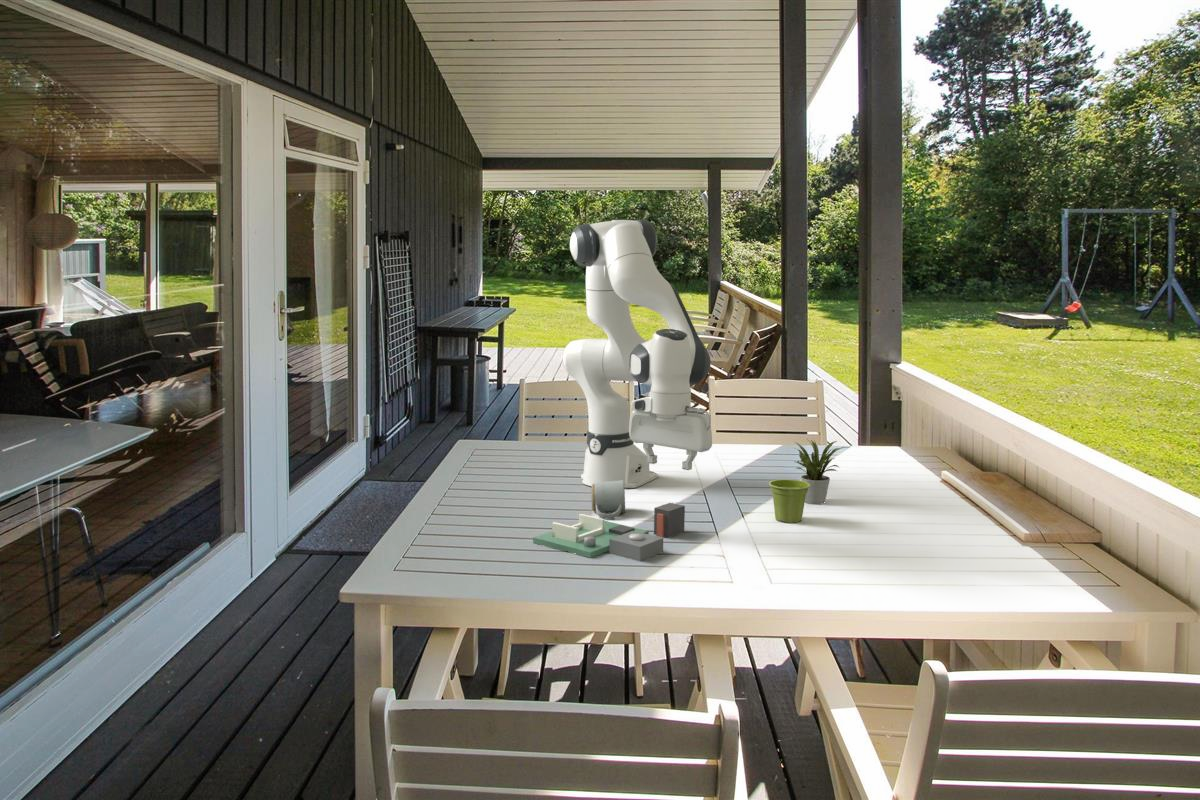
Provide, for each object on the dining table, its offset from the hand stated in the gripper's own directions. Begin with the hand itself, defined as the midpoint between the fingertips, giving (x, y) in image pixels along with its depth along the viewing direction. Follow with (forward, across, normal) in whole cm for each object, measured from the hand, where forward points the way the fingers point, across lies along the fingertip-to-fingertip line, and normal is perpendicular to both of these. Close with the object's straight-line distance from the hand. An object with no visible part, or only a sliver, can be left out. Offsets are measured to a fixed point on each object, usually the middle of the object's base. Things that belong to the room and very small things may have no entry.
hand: (669, 466), depth 211 cm
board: (+15, +10, +15) cm, 23 cm away
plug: (+15, 0, 0) cm, 15 cm away
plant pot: (+15, -15, -27) cm, 35 cm away
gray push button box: (+15, -3, +16) cm, 22 cm away
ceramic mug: (+15, +20, -4) cm, 26 cm away
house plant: (+15, -13, -47) cm, 51 cm away
